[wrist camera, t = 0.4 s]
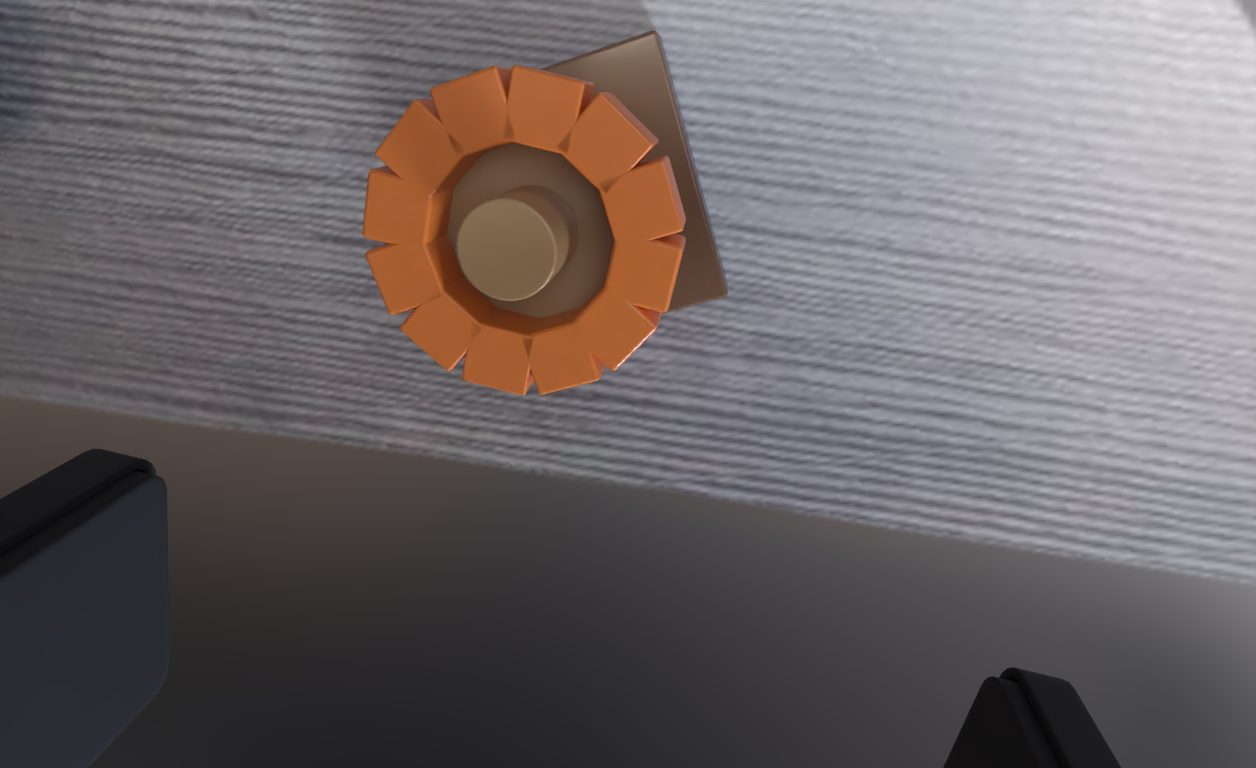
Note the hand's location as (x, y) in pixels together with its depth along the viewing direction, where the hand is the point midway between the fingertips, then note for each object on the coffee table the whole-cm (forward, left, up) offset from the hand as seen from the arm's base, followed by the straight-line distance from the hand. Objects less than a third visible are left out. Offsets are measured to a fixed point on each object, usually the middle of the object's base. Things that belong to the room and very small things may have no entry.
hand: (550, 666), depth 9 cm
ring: (-4, -1, -10) cm, 11 cm away
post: (-4, -1, -15) cm, 16 cm away
